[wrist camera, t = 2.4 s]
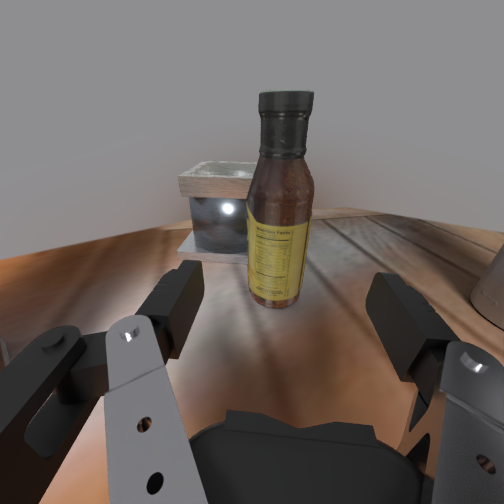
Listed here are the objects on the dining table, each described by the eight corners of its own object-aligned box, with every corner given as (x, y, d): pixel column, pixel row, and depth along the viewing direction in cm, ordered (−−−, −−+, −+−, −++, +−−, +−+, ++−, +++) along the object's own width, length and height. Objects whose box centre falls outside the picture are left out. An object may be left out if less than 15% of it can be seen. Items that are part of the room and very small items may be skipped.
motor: (273, 230, 42) (278, 162, 36) (273, 265, 32) (279, 179, 26) (201, 226, 43) (193, 160, 37) (178, 260, 33) (162, 175, 27)
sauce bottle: (268, 271, 31) (278, 96, 21) (309, 291, 27) (346, 92, 17) (235, 296, 26) (228, 89, 16) (280, 323, 23) (306, 82, 13)
